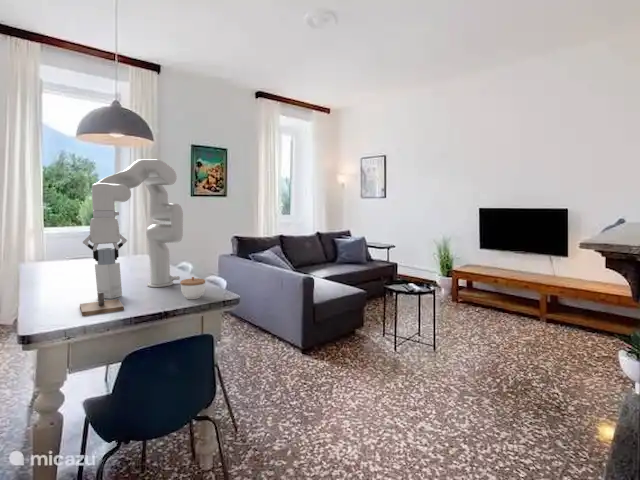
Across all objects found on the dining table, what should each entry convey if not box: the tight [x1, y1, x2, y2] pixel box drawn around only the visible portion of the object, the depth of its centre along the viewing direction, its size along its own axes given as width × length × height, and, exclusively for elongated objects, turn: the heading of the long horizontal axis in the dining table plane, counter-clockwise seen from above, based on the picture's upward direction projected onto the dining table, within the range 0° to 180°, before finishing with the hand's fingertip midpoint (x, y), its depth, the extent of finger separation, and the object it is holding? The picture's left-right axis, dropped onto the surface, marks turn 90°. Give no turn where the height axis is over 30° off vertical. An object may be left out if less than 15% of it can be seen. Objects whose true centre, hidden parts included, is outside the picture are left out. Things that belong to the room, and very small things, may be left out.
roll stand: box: [79, 292, 125, 317], centre depth 151 cm, size 14×14×6 cm
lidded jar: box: [180, 276, 206, 300], centre depth 170 cm, size 11×11×9 cm
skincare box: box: [94, 261, 123, 300], centre depth 170 cm, size 8×7×16 cm
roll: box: [96, 247, 116, 265], centre depth 150 cm, size 6×6×6 cm
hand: (106, 259), depth 150 cm, fingers closed on roll, 5 cm apart
